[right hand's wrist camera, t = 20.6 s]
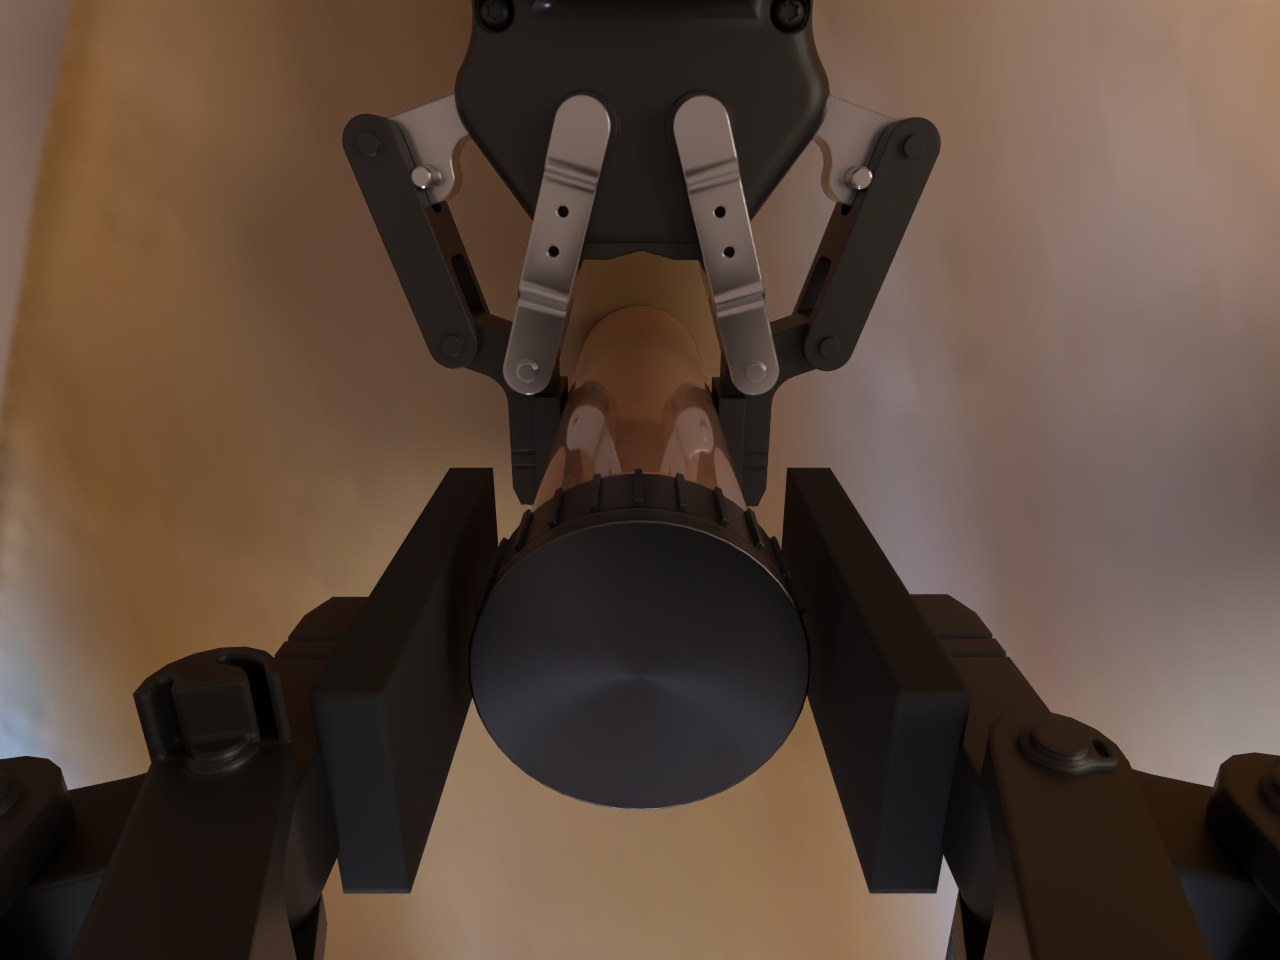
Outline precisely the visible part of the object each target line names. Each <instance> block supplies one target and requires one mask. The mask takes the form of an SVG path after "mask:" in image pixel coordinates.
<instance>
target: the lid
mask: <svg viewBox="0 0 1280 960" xmlns="http://www.w3.org/2000/svg"><path fill="white" fill-rule="evenodd" d="M803 614H806V609H805V606H804V604H803V601H802V598H801V595H800V593H799V590H798V587H797V585H796V582H795V579H794V577H793V574H792V571H791V569H788V568H787V565H786V562H785V560H784V557H783V554H782V551H781V549H780V546H779V543H778V541H777V539H776V538H775V536H773V537H772V538H770V539H769V537H768V536H767V534H766V533H765V531H764V530H763V529H762V528H761V527H760V525H759V524H758V523H757V520H756V517H755V514H754V512H753V511H752V510H751V509H750V508H748V509H747V510H746V511H744V510H743V509H742V508H741V507H739V506H738V505H737V504H736V503H734V502H733V501H731V500H729V499H728V498H726V497H725V496H723V492H722V489H721V488H719V487H717V486H715V488H714V489H713V490H712V489H709V488H707V487H705V486H703V485H700V484H698V483H694V482H691V481H688V480H685V479H684V474H680V473H676V476H675V477H671V476H666V475H660V474H643V473H642V469H635V473H633V474H620V475H612V476H607V477H603V478H602V476H601V474H600V473H598V474H594V475H593V480H591V481H588V482H585V483H582V484H579V485H576V486H574V487H572V488H570V489H567V490H565V491H564V490H563V488H562V487H560V488H558V489H556V490H555V494H554V497H553V498H551V499H550V500H548V501H546V502H545V503H543V504H542V505H540V506H539V507H538V508H537V509H536V510H535V511H534V512H531V511H530V510H529V509H528V510H527V511H526V512H524V514H523V517H522V520H521V523H520V525H519V527H518V528H517V529H516V530H515V531H514V532H513V534H512V535H511V537H510V538H509V540H508V539H506V538H503V539H502V541H501V542H500V545H499V547H498V550H497V553H496V555H495V558H494V561H493V564H492V566H491V569H490V570H488V571H487V574H486V577H485V579H484V582H483V585H482V587H481V590H480V593H479V595H478V598H477V601H476V603H475V606H474V608H473V612H472V615H473V616H477V618H476V620H475V624H474V627H473V631H472V634H471V638H470V642H469V644H468V652H469V653H468V677H469V682H470V688H471V693H472V697H473V700H474V703H475V706H476V709H477V711H478V714H479V716H480V718H481V720H482V722H483V724H484V726H485V728H486V730H487V732H488V733H489V734H490V736H491V737H492V739H493V740H494V742H495V743H496V744H497V746H498V747H499V748H500V749H501V750H502V751H503V753H504V754H505V755H506V756H507V757H508V758H509V759H510V760H511V761H512V762H513V763H514V764H515V765H517V766H518V767H519V768H520V769H521V770H523V771H524V772H525V773H526V774H528V775H529V776H531V777H532V778H534V779H535V780H537V781H538V782H540V783H541V784H543V785H545V786H547V787H549V788H551V789H553V790H555V791H557V792H559V793H561V794H563V795H566V796H569V797H571V798H574V799H577V800H579V801H583V802H587V803H591V804H595V805H599V806H604V807H611V808H618V809H635V810H646V809H662V808H668V807H674V806H680V805H685V804H688V803H692V802H696V801H699V800H703V799H705V798H708V797H710V796H713V795H715V794H718V793H720V792H723V791H724V790H726V789H728V788H730V787H732V786H734V785H736V784H738V783H739V782H741V781H742V780H744V779H745V778H747V777H748V776H750V775H751V774H752V773H754V772H755V771H757V770H758V769H759V768H760V767H761V766H762V765H763V764H764V763H766V762H767V761H768V760H769V759H770V758H771V757H772V756H773V755H774V753H775V752H776V751H777V750H778V749H779V748H780V747H781V745H782V744H783V743H784V742H785V740H786V739H787V737H788V735H789V734H790V732H791V731H792V729H793V728H794V726H795V724H796V722H797V720H798V718H799V715H800V713H801V711H802V709H803V705H804V702H805V699H806V696H807V693H808V687H809V681H810V674H811V653H810V650H811V643H810V640H809V638H808V634H807V631H806V628H805V625H804V622H803V619H802V616H801V615H803Z"/></svg>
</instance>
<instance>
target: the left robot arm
mask: <svg viewBox="0 0 1280 960" xmlns="http://www.w3.org/2000/svg"><path fill="white" fill-rule="evenodd" d="M812 7H813V0H472V13H473V22H472V32H471V38H470V43H469V47H468V50H467V53H466V56H465V58H464V60H463V63H462V65H461V67H460V69H459V71H458V74H457V78H456V82H455V93H454V94H451V95H449V96H446V97H443V98H441V99H438V100H435V101H433V102H430V103H427V104H425V105H422V106H419V107H416V108H414V109H411V110H408V111H406V112H403V113H400V114H398V115H395V116H392V117H381V116H376V115H371V114H362V115H358V116H356V117H354V118H352V119H351V120H350V121H349V122H348V124H347V125H346V127H345V129H344V132H343V148H344V151H345V153H346V156H347V158H348V160H349V163H350V165H351V167H352V170H353V172H354V174H355V177H356V179H357V182H358V184H359V186H360V189H361V191H362V193H363V196H364V198H365V200H366V203H367V205H368V207H369V210H370V212H371V214H372V217H373V219H374V222H375V224H376V226H377V229H378V231H379V233H380V236H381V238H382V240H383V243H384V245H385V247H386V250H387V252H388V254H389V257H390V259H391V262H392V264H393V266H394V269H395V271H396V273H397V276H398V278H399V280H400V283H401V285H402V287H403V290H404V292H405V294H406V297H407V299H408V302H409V304H410V306H411V309H412V311H413V313H414V316H415V318H416V320H417V323H418V325H419V327H420V330H421V332H422V334H423V337H424V339H425V342H426V344H427V346H428V349H429V351H430V353H431V355H432V357H433V358H434V359H435V360H436V361H437V362H438V363H439V364H441V365H442V366H444V367H447V368H452V369H458V368H462V367H465V368H467V369H470V370H473V371H476V372H479V373H482V374H484V375H487V376H489V377H491V378H493V379H495V380H496V381H497V382H498V383H499V384H500V385H501V386H502V388H503V389H504V391H505V393H506V395H507V399H508V407H509V425H510V442H511V460H512V477H513V489H514V491H515V493H516V495H517V497H518V499H519V501H520V503H521V505H533V503H534V500H535V497H536V494H537V490H538V487H539V484H540V481H541V478H542V475H543V472H544V468H545V465H546V462H547V459H548V456H549V453H550V449H551V446H552V443H553V440H554V437H555V434H556V431H557V427H558V424H559V421H560V418H561V415H562V412H563V408H564V405H565V402H566V399H567V396H568V376H560V371H559V358H560V354H561V350H562V346H563V342H564V338H565V334H566V330H567V326H568V322H569V318H570V314H571V310H572V306H573V302H574V298H575V295H576V291H577V288H578V284H579V281H580V277H581V273H582V269H583V265H584V261H585V259H597V260H608V259H612V258H616V257H619V256H623V255H627V254H630V253H634V252H638V251H645V252H649V253H653V254H656V255H660V256H663V257H667V258H670V259H674V260H698V263H699V267H700V271H701V275H702V279H703V283H704V287H705V290H706V294H707V297H708V301H709V305H710V309H711V313H712V318H713V322H714V326H715V330H716V334H717V338H718V342H719V347H720V351H721V366H720V377H712V397H713V400H714V404H715V407H716V410H717V413H718V416H719V420H720V423H721V426H722V429H723V432H724V436H725V439H726V442H727V445H728V448H729V451H730V455H731V458H732V461H733V464H734V467H735V471H736V474H737V477H738V480H739V483H740V487H741V490H742V493H743V496H744V499H745V502H746V506H758V504H759V502H760V500H761V498H762V496H763V494H764V492H765V490H766V481H767V465H768V449H769V434H770V418H771V404H772V399H773V396H774V394H775V392H776V390H777V389H778V387H779V386H780V385H781V384H782V383H783V382H785V381H786V380H788V379H789V378H792V377H794V376H797V375H800V374H803V373H805V372H808V371H811V370H814V369H819V370H822V371H832V370H836V369H838V368H840V367H842V366H843V365H844V364H845V363H846V362H847V361H848V360H849V359H850V357H851V355H852V353H853V351H854V348H855V346H856V344H857V341H858V339H859V337H860V334H861V332H862V330H863V327H864V325H865V323H866V320H867V318H868V316H869V314H870V311H871V309H872V307H873V304H874V302H875V300H876V297H877V295H878V293H879V290H880V288H881V286H882V284H883V281H884V279H885V277H886V274H887V272H888V270H889V267H890V265H891V263H892V260H893V258H894V256H895V254H896V251H897V249H898V247H899V244H900V242H901V240H902V237H903V235H904V233H905V230H906V228H907V226H908V224H909V221H910V219H911V217H912V214H913V212H914V210H915V207H916V205H917V203H918V200H919V198H920V196H921V193H922V191H923V189H924V187H925V184H926V182H927V180H928V177H929V175H930V173H931V170H932V168H933V166H934V163H935V161H936V159H937V157H938V154H939V151H940V142H941V141H940V135H939V132H938V130H937V128H936V127H935V126H934V124H933V123H931V122H930V121H928V120H927V119H924V118H919V117H914V118H901V119H893V118H890V117H887V116H885V115H882V114H879V113H877V112H874V111H871V110H869V109H866V108H864V107H861V106H858V105H856V104H853V103H850V102H848V101H845V100H842V99H840V98H837V97H834V96H832V95H829V83H828V78H827V75H826V72H825V70H824V68H823V65H822V63H821V61H820V59H819V56H818V53H817V50H816V46H815V42H814V37H813V31H812ZM471 138H472V139H473V140H474V142H475V143H476V145H477V146H478V147H479V149H480V150H481V151H482V153H483V154H484V155H485V157H486V158H487V160H488V161H489V162H490V164H491V165H492V166H493V168H494V169H495V170H496V172H497V173H498V175H499V176H500V177H501V179H502V180H503V181H504V183H505V184H506V185H507V187H508V188H509V190H510V191H511V192H512V194H513V195H514V196H515V198H516V199H517V200H518V202H519V203H520V205H521V206H522V207H523V209H524V210H525V211H526V213H527V214H528V215H529V217H530V218H531V220H532V221H533V224H532V229H531V233H530V238H529V242H528V247H527V251H526V256H525V260H524V265H523V269H522V274H521V278H520V283H519V289H518V302H517V306H516V311H515V315H514V320H513V322H511V321H508V320H505V319H502V318H500V317H497V316H494V315H491V314H490V312H489V309H488V307H487V304H486V302H485V299H484V296H483V294H482V291H481V289H480V286H479V284H478V281H477V279H476V276H475V273H474V271H473V268H472V266H471V263H470V261H469V258H468V256H467V253H466V250H465V248H464V245H463V243H462V240H461V238H460V235H459V232H458V230H457V227H456V225H455V222H454V220H453V217H452V215H451V212H450V209H449V207H448V204H447V202H446V201H448V200H450V199H452V198H453V197H455V196H456V195H457V193H458V192H459V190H460V188H461V185H462V172H461V168H460V154H461V151H462V149H463V147H464V145H465V144H466V143H467V142H468V141H469V140H470V139H471ZM811 140H813V141H815V142H816V143H817V144H818V146H819V147H820V149H821V151H822V154H823V159H824V165H823V170H822V175H821V185H822V189H823V191H824V193H825V194H826V196H827V197H828V198H829V199H831V200H832V201H834V202H837V203H836V205H835V208H834V211H833V213H832V216H831V218H830V221H829V223H828V226H827V228H826V231H825V233H824V236H823V238H822V241H821V243H820V246H819V248H818V251H817V253H816V256H815V258H814V261H813V263H812V266H811V268H810V271H809V273H808V276H807V278H806V281H805V283H804V286H803V288H802V291H801V293H800V296H799V298H798V301H797V303H796V306H795V308H794V311H793V313H792V315H790V316H787V317H784V318H782V319H779V320H776V321H773V322H770V323H769V318H768V313H767V309H766V304H765V291H764V284H763V279H762V274H761V270H760V265H759V261H758V256H757V251H756V247H755V242H754V237H753V233H752V228H751V223H750V222H751V220H752V219H753V218H754V216H755V215H756V214H757V212H758V211H759V210H760V208H761V207H762V206H763V204H764V203H765V202H766V200H767V199H768V198H769V196H770V195H771V194H772V192H773V191H774V190H775V188H776V187H777V186H778V184H779V183H780V181H781V180H782V179H783V177H784V176H785V175H786V173H787V172H788V171H789V169H790V168H791V167H792V165H793V164H794V163H795V161H796V160H797V159H798V157H799V156H800V155H801V153H802V152H803V151H804V149H805V148H806V147H807V145H808V144H809V142H810V141H811Z"/></svg>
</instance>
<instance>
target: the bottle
mask: <svg viewBox="0 0 1280 960" xmlns="http://www.w3.org/2000/svg"><path fill="white" fill-rule="evenodd" d="M635 469H642V473H643V474H660V475H666V476H671V477H675V476H676V473H680V474H684V479H685V480H688V481H691V482H694V483H698V484H700V485H703V486H705V487H707V488H709V489H712V490H713V489H714V488H715V486H717V487H719V488H721V489H722V492H723V496H725V497H726V498H728V499H729V500H731V501H733V502H734V503H736V504H737V505H738V506H739V507H741V508H742V509H743V510H744V511H746V510H747V506H746V502H745V499H744V496H743V493H742V490H741V487H740V483H739V480H738V477H737V474H736V471H735V467H734V464H733V461H732V458H731V455H730V451H729V448H728V445H727V442H726V439H725V436H724V432H723V429H722V426H721V423H720V420H719V416H718V413H717V410H716V407H715V404H714V400H713V397H712V394H711V391H710V388H709V384H708V381H707V378H706V375H705V372H704V369H703V365H702V362H701V359H700V356H699V353H698V349H697V346H696V344H695V341H694V339H693V337H692V335H691V334H690V332H689V331H688V330H687V328H686V327H685V326H684V325H683V324H682V323H681V322H680V321H679V320H678V319H677V318H675V317H674V316H672V315H671V314H669V313H667V312H665V311H663V310H660V309H657V308H653V307H647V306H633V307H627V308H623V309H620V310H617V311H615V312H613V313H611V314H609V315H607V316H606V317H605V318H603V319H602V320H601V321H600V322H599V323H598V324H597V325H596V326H595V327H594V328H593V329H592V331H591V332H590V333H589V335H588V337H587V339H586V341H585V343H584V346H583V349H582V352H581V355H580V358H579V361H578V364H577V368H576V371H575V374H574V377H573V380H572V383H571V386H570V390H569V393H568V396H567V399H566V402H565V405H564V408H563V412H562V415H561V418H560V421H559V424H558V427H557V431H556V434H555V437H554V440H553V443H552V446H551V449H550V453H549V456H548V459H547V462H546V465H545V468H544V472H543V475H542V478H541V481H540V484H539V487H538V490H537V494H536V497H535V500H534V503H533V506H532V509H531V512H534V511H535V510H536V509H537V508H538V507H539V506H540V505H542V504H543V503H545V502H546V501H548V500H550V499H551V498H553V497H554V494H555V490H556V489H558V488H560V487H562V488H563V490H564V491H565V490H567V489H570V488H572V487H574V486H576V485H579V484H582V483H585V482H588V481H591V480H593V475H594V474H598V473H600V474H601V476H602V478H603V477H607V476H612V475H620V474H633V473H635Z"/></svg>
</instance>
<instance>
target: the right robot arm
mask: <svg viewBox="0 0 1280 960" xmlns="http://www.w3.org/2000/svg"><path fill="white" fill-rule="evenodd" d="M497 550H498V535H497V521H496V507H495V493H494V479H493V468H450V469H449V470H448V472H447V474H446V475H445V477H444V478H443V480H442V482H441V483H440V485H439V486H438V488H437V489H436V491H435V493H434V494H433V496H432V497H431V499H430V501H429V502H428V504H427V505H426V507H425V508H424V510H423V512H422V513H421V515H420V516H419V518H418V520H417V521H416V523H415V524H414V526H413V527H412V529H411V531H410V532H409V534H408V535H407V537H406V539H405V540H404V542H403V543H402V545H401V546H400V548H399V550H398V551H397V553H396V554H395V556H394V558H393V559H392V561H391V562H390V564H389V565H388V567H387V569H386V570H385V572H384V573H383V575H382V577H381V578H380V580H379V581H378V583H377V584H376V586H375V588H374V589H373V591H372V592H371V594H370V596H369V597H332V598H330V599H329V600H327V601H326V602H324V603H323V604H321V605H320V606H318V607H317V608H315V609H314V610H312V611H311V612H309V613H307V614H306V615H304V617H303V618H302V619H301V621H300V622H299V623H298V625H297V626H296V627H295V629H294V630H293V631H292V633H291V634H290V635H289V637H288V641H285V642H284V643H283V645H282V646H281V647H280V649H279V650H278V651H277V653H276V654H275V658H274V657H272V656H271V655H270V654H269V653H267V652H266V651H263V650H258V649H254V648H249V647H226V648H217V649H213V650H209V651H204V652H200V653H195V654H192V655H190V656H187V657H185V658H182V659H180V660H177V661H175V662H172V663H170V664H168V665H166V666H164V667H163V668H161V669H160V670H158V671H157V672H155V673H154V674H152V675H151V676H149V677H148V678H146V679H145V680H144V682H143V683H142V684H141V685H140V686H139V687H138V689H137V690H136V691H135V692H134V693H133V697H134V700H135V704H136V707H137V711H138V715H139V718H140V722H141V726H142V729H143V733H144V737H145V740H146V744H147V748H148V751H149V755H150V759H151V762H152V763H151V765H150V767H149V770H148V772H147V773H144V774H141V775H137V776H134V777H130V778H125V779H121V780H116V781H111V782H106V783H102V784H97V785H92V786H88V787H83V788H78V789H73V790H69V791H68V790H67V786H66V783H65V780H64V777H63V774H62V771H61V768H60V767H58V766H57V765H56V764H54V763H53V762H52V761H50V760H49V759H45V758H38V757H30V756H22V757H15V758H7V759H0V960H324V951H325V941H326V932H327V919H326V913H325V906H324V901H323V896H322V890H323V888H324V886H325V884H326V881H327V879H328V877H329V874H330V872H331V870H332V868H333V865H334V863H335V861H336V859H338V864H339V870H340V875H341V881H342V886H343V892H344V893H411V889H412V886H413V883H414V880H415V877H416V874H417V870H418V867H419V864H420V861H421V858H422V855H423V851H424V848H425V845H426V842H427V839H428V836H429V833H430V829H431V826H432V823H433V820H434V817H435V814H436V810H437V807H438V804H439V801H440V798H441V795H442V791H443V788H444V785H445V782H446V779H447V776H448V772H449V769H450V766H451V763H452V760H453V757H454V753H455V750H456V747H457V744H458V741H459V738H460V735H461V731H462V728H463V725H464V722H465V719H466V716H467V712H468V709H469V706H470V703H471V700H472V693H471V688H470V682H469V677H468V653H469V652H468V644H469V642H470V638H471V634H472V631H473V627H474V624H475V620H476V618H477V616H473V615H472V612H473V608H474V606H475V603H476V601H477V598H478V595H479V593H480V590H481V587H482V585H483V582H484V579H485V577H486V574H487V571H488V570H490V569H491V566H492V564H493V561H494V558H495V555H496V553H497ZM781 551H782V554H783V557H784V560H785V562H786V565H787V568H788V569H791V571H792V574H793V577H794V579H795V582H796V585H797V587H798V590H799V593H800V595H801V598H802V601H803V604H804V606H805V609H806V614H803V615H801V616H802V619H803V622H804V625H805V628H806V631H807V634H808V638H809V640H810V643H811V650H810V653H811V674H810V681H809V687H808V693H807V697H808V700H809V703H810V706H811V709H812V712H813V716H814V719H815V722H816V725H817V728H818V731H819V735H820V738H821V741H822V744H823V747H824V750H825V753H826V757H827V760H828V763H829V766H830V769H831V772H832V776H833V779H834V782H835V785H836V788H837V791H838V795H839V798H840V801H841V804H842V807H843V810H844V814H845V817H846V820H847V823H848V826H849V829H850V833H851V836H852V839H853V842H854V845H855V848H856V851H857V855H858V858H859V861H860V864H861V867H862V870H863V874H864V877H865V880H866V883H867V886H868V889H869V893H936V892H937V886H938V881H939V875H940V870H941V864H942V859H943V855H944V857H945V859H946V861H947V864H948V866H949V868H950V870H951V873H952V875H953V877H954V880H955V882H956V884H957V886H958V889H959V891H958V896H957V901H956V906H955V912H954V917H953V922H952V927H951V932H950V938H949V943H948V948H947V953H946V959H945V960H1280V756H1278V755H1270V754H1262V753H1247V754H1240V755H1233V756H1231V757H1230V758H1229V759H1228V760H1226V761H1225V762H1224V763H1222V764H1221V765H1220V768H1219V771H1218V774H1217V777H1216V780H1215V783H1214V787H1209V786H1204V785H1200V784H1195V783H1190V782H1185V781H1181V780H1176V779H1171V778H1166V777H1162V776H1157V775H1152V774H1148V773H1145V772H1141V771H1137V770H1134V769H1132V768H1131V766H1130V764H1129V761H1128V760H1127V759H1126V757H1125V756H1124V754H1123V753H1122V752H1121V750H1120V749H1119V748H1118V746H1117V745H1116V744H1115V743H1114V742H1112V741H1111V740H1110V739H1108V738H1107V737H1106V736H1104V735H1103V734H1102V733H1100V732H1099V731H1098V730H1096V729H1094V728H1092V727H1090V726H1088V725H1086V724H1084V723H1082V722H1079V721H1077V720H1075V719H1073V718H1071V717H1067V716H1063V715H1059V714H1055V713H1051V712H1050V710H1049V709H1048V708H1047V706H1046V705H1045V704H1044V702H1043V701H1042V700H1041V698H1040V697H1039V696H1038V694H1037V693H1036V692H1035V690H1034V689H1033V688H1032V686H1031V685H1030V684H1029V683H1028V681H1027V680H1026V679H1025V677H1024V676H1023V675H1022V673H1021V672H1020V671H1019V669H1018V668H1017V667H1016V665H1015V664H1014V663H1013V661H1012V660H1011V659H1010V657H1006V652H1005V651H1004V649H1003V648H1002V647H1001V645H1000V644H999V643H998V641H997V640H996V639H993V638H992V633H991V632H990V631H989V629H988V628H987V627H986V625H985V624H984V623H983V621H982V620H981V619H980V618H979V616H978V615H977V614H976V613H975V612H974V611H972V610H971V609H969V608H968V607H966V606H965V605H963V604H962V603H960V602H959V601H957V600H956V599H954V598H952V597H951V596H949V595H948V594H909V592H908V591H907V589H906V588H905V586H904V584H903V583H902V581H901V580H900V578H899V577H898V575H897V573H896V572H895V570H894V569H893V567H892V565H891V564H890V562H889V561H888V559H887V558H886V556H885V554H884V553H883V551H882V550H881V548H880V546H879V545H878V543H877V542H876V540H875V539H874V537H873V535H872V534H871V532H870V531H869V529H868V527H867V526H866V524H865V523H864V521H863V520H862V518H861V516H860V515H859V513H858V512H857V510H856V508H855V507H854V505H853V504H852V502H851V501H850V499H849V497H848V496H847V494H846V493H845V491H844V489H843V488H842V486H841V485H840V483H839V482H838V480H837V478H836V477H835V475H834V474H833V472H832V470H831V469H830V468H787V479H786V493H785V507H784V521H783V535H782V549H781Z"/></svg>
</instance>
